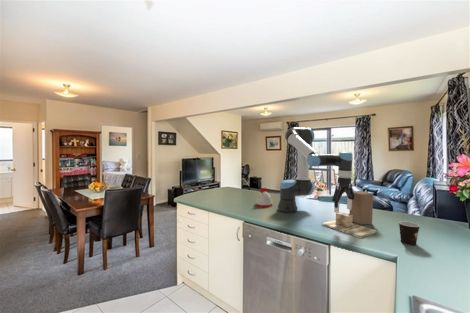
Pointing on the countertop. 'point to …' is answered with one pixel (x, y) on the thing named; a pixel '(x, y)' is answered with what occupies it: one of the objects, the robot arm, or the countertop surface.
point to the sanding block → (344, 219)
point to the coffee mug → (408, 232)
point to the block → (362, 207)
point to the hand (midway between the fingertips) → (342, 210)
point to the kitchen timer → (264, 199)
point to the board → (351, 229)
